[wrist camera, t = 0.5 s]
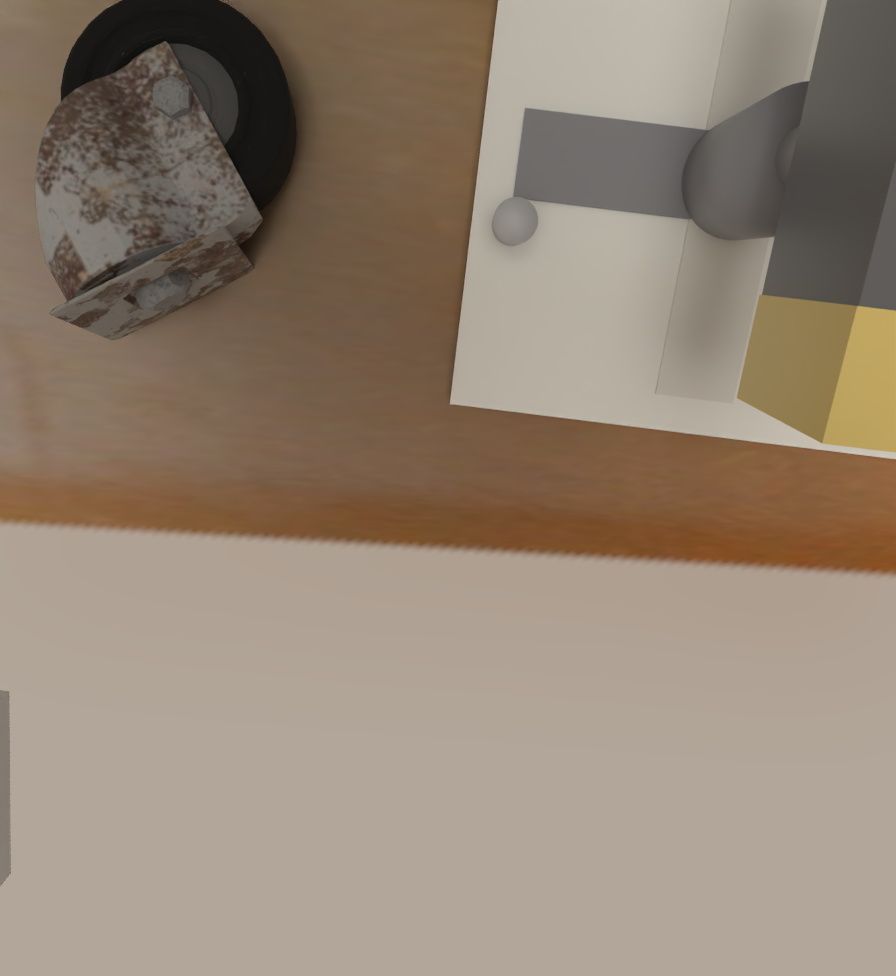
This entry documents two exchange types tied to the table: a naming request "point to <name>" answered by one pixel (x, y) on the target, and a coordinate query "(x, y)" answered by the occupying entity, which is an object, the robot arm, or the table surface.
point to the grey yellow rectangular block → (835, 245)
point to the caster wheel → (159, 160)
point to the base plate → (631, 210)
